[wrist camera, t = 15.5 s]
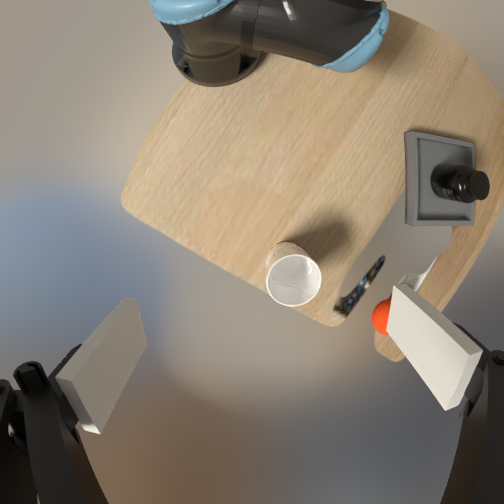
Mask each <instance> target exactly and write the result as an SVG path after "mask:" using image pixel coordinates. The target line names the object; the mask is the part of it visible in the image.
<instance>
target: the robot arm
mask: <svg viewBox="0 0 504 504" xmlns="http://www.w3.org/2000/svg"><path fill="white" fill-rule="evenodd" d="M149 1H150V3H151V5H152V7H153V11H154V15H155V16H156V18H157V19H158V20H159V21H160V23H161V24H162V26H163V27H164V29H165V30H166V31H167V33H168V34H169V36H170V37H171V39H172V40H173V46H172V56H173V60H174V63H175V65H176V67H177V68H178V70H179V71H180V73H181V74H182V75H183V76H184V77H185V78H186V79H188V80H189V81H191V82H193V83H195V84H198V85H202V86H207V87H220V86H226V85H230V84H233V83H235V82H238V81H240V80H241V79H243V78H245V77H246V76H247V75H249V74H250V73H251V72H252V71H253V70H254V68H255V67H256V66H257V64H258V62H259V60H260V57H261V52H262V51H265V52H269V53H274V54H278V55H282V56H286V57H290V58H294V59H297V60H301V61H305V62H308V63H311V64H312V65H314V66H315V67H319V68H327V69H331V70H334V71H337V72H341V73H348V72H353V71H356V70H358V69H360V68H361V67H362V66H364V65H365V64H366V63H367V62H368V61H369V60H370V59H371V58H372V57H373V55H374V54H375V53H376V51H377V50H378V48H379V47H380V45H381V43H382V41H383V39H384V38H383V35H384V34H385V33H386V31H387V29H388V26H389V22H390V14H389V11H388V9H387V8H386V7H385V6H384V5H383V4H382V3H383V1H384V0H149ZM386 331H387V333H388V334H389V335H390V336H391V338H392V339H393V340H394V342H395V343H396V344H397V345H398V347H399V348H400V349H401V351H402V352H403V353H404V355H405V356H406V357H407V358H408V360H409V361H410V362H411V364H412V365H413V366H414V368H415V369H416V371H417V372H418V373H419V375H420V376H421V377H422V379H423V380H424V382H425V383H426V384H427V386H428V387H429V388H430V390H431V391H432V393H433V394H434V396H435V397H436V398H437V400H438V401H439V403H440V404H441V406H442V407H443V408H444V410H448V409H450V408H453V407H455V406H457V405H459V403H460V401H461V399H462V397H463V395H464V394H465V395H466V397H467V398H468V400H467V402H466V404H465V406H464V408H463V410H462V411H461V413H460V415H459V417H458V419H460V418H461V416H462V415H463V414H464V415H463V422H462V427H461V432H460V437H459V442H458V446H457V450H456V454H455V458H454V462H453V466H452V470H451V473H450V476H449V479H448V483H447V486H446V489H445V491H444V495H443V497H442V500H441V503H440V504H504V352H503V351H500V350H495V351H491V352H490V351H489V350H487V348H485V347H484V346H483V345H482V344H481V343H480V342H479V341H478V340H477V339H475V338H473V336H472V335H471V334H470V333H468V332H467V331H466V330H465V329H464V328H463V327H462V326H460V325H458V324H456V323H454V322H451V321H450V320H449V319H447V318H446V317H445V316H444V315H443V314H442V313H440V312H439V311H438V310H437V309H436V308H434V307H433V306H432V305H431V304H430V303H428V302H427V301H426V300H425V299H424V298H422V297H421V296H420V295H419V294H417V293H416V292H415V291H414V290H413V289H411V288H410V287H409V286H408V285H406V284H400V285H393V292H392V299H391V306H390V312H389V318H388V324H387V329H386ZM146 345H147V342H146V338H145V334H144V330H143V326H142V322H141V317H140V313H139V308H138V304H137V299H123V300H122V301H121V302H120V303H119V304H118V305H117V306H116V307H115V308H114V309H113V310H112V312H111V313H110V314H109V315H108V316H107V317H106V318H105V320H103V322H102V323H101V324H100V325H99V326H98V327H97V328H96V329H95V331H94V332H93V333H92V334H91V335H90V336H89V338H88V339H87V340H86V341H85V342H84V343H83V344H79V345H78V346H77V347H75V348H73V349H72V350H71V351H70V352H69V353H68V354H67V355H66V358H64V359H63V360H62V361H61V363H60V364H59V365H58V366H57V367H56V368H55V370H54V371H53V372H52V373H51V374H50V376H49V377H48V378H47V376H46V374H45V372H44V370H43V368H42V365H41V364H40V363H39V362H35V361H30V362H26V363H24V364H22V365H20V366H19V367H18V368H17V369H16V370H15V371H14V374H13V376H14V378H15V380H16V382H17V383H18V385H19V387H20V389H21V390H13V388H12V387H11V385H10V383H9V381H7V380H4V379H1V380H0V504H37V494H38V497H39V501H40V504H109V503H108V501H107V499H106V497H105V495H104V493H103V491H102V489H101V487H100V485H99V483H98V481H97V478H96V477H95V474H94V471H93V469H92V467H91V464H90V462H89V460H88V457H87V455H86V452H85V449H84V447H83V444H82V441H81V438H80V435H79V432H78V430H77V429H76V427H75V426H76V424H77V422H78V420H79V421H80V423H81V425H82V426H83V428H84V430H87V431H91V432H95V433H98V434H101V432H102V430H103V428H104V426H105V424H106V422H107V420H108V418H109V416H110V414H111V412H112V410H113V407H114V406H115V404H116V402H117V400H118V398H119V396H120V394H121V392H122V390H123V388H124V386H125V384H126V383H127V381H128V379H129V377H130V375H131V373H132V371H133V369H134V368H135V366H136V364H137V362H138V360H139V358H140V356H141V355H142V353H143V351H144V349H145V347H146ZM8 428H9V429H10V430H11V434H10V435H9V433H8Z"/></svg>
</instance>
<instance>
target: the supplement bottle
mask: <svg viewBox="0 0 504 504" xmlns="http://www.w3.org/2000/svg"><path fill="white" fill-rule="evenodd" d="M430 183H431V188H432V190H433V192H434V194H435V195H436V196H437V197H439V198H441V199H446V200H451V201H457V202H462V203H472V202H474V201H475V200H484V199H486V197H487V196H488V193H489V189H490V184H489V179H488V177H487V175H486V174H485V173H484V172H482V171H477V170H475V168H473V167H472V166H470V165H466V164H440V165H438V166H436V167H435V168H434V169H433V171H432V173H431V177H430Z"/></svg>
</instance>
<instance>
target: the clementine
mask: <svg viewBox="0 0 504 504" xmlns="http://www.w3.org/2000/svg"><path fill="white" fill-rule="evenodd" d="M390 306H391V299H387V300H384V301H382V302H380V303H379V304H378V305H377V306H376V307H375V309H374V311H373V314H372V322H373V325H374V327H375V329H376V330H377V331H379V332H380V333H382V334H385V335H389V334H388V333H387V331H386V329H387V324H388V318H389V312H390Z"/></svg>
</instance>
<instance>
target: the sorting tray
mask: <svg viewBox="0 0 504 504" xmlns="http://www.w3.org/2000/svg"><path fill="white" fill-rule="evenodd" d="M404 141H405V165H406V202H405V205H406V206H405V223H406V224H408V225H411V226H474V213H475V201H474V202H472V203H462V202H457V201H451V200H446V199H441V198H439V197H437V196H436V195H435V194H434V192H433V190H432V188H431V183H430V177H431V173H432V171H433V169H434V168H435V167H436V166H438V165H440V164H466V165H470V166H472V167H473V168H475V170H476V166H475V144H474V143H469V142H465V141H461V140H457V139H452V138H447V137H442V136H437V135H432V134H426V133H420V132H414V131H410V132H406V133H404Z"/></svg>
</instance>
